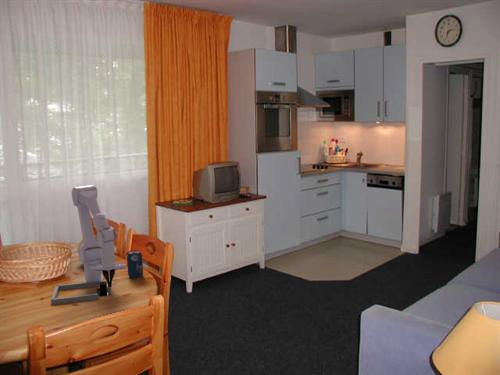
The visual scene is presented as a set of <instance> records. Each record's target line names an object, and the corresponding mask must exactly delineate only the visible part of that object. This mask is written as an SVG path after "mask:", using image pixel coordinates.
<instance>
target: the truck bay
mask: <svg viewBox="0 0 500 375" xmlns="http://www.w3.org/2000/svg"><path fill="white" fill-rule="evenodd" d="M99 284H100V281H92V282H84V281H82V282H75V283H73V282H72V283H65V284H64V283H63V284H56V285H55V287H54V290H53V293H52V295H51V299H50V303H51V305H59V304H67V303H69V304H70V303H76V302H85V301H94V300H95V301H96V300H99V297H98V294H96V293H92V294H91V293H90V294H84V295H83V294H82V295H74V296H64V297H63V296H62V297H58V295H59V292H60V291H63V290H72V289H74V290H75V289H83V288H92V287H93V288H94V287H100V286H99Z"/></svg>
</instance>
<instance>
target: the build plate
mask: <svg viewBox="0 0 500 375" xmlns="http://www.w3.org/2000/svg"><path fill="white" fill-rule="evenodd" d="M111 292H112V287H108V284H107V281H106V280H105V281H103V280H102V282H100V284H99V286H98V288H96V293H95V294H98V298H100V297H107V296H111V295H112V293H111Z"/></svg>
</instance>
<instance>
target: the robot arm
mask: <svg viewBox="0 0 500 375" xmlns="http://www.w3.org/2000/svg"><path fill="white" fill-rule="evenodd" d="M71 198H72V199H71V200H72V204H73V206H74V207H77V213H78V216H79V223H80V229H81V233H82V240H84V242H83V244H82V245H81V246H80V247H79V246H78V247H79V254H78V258H79V262H80V263H81V264H83V269H84V271H83V272H84V279H83V282H92V281H100V282H103V278H104V279H105V281H107V287H111V288H112V286H113V285H112V284H113V283H112V282H113V279H114V276H115V274H116V271H117V270H118V271H119V270H127V263H116V257H115V252H116V251H115V241H116V239H117V233H116V229H115V228H114V227H113V226H112V225H110V224H109V222H108V220H107V219H108V218H107V217H106V215H105V214H103V213H102V211H101V209H100V205H99V202H98V200H97V199H98V188H97V186H95V184H90V185H84V186H74V187H73V188H72V190H71ZM91 215H92V217H91ZM93 225H94V227H93ZM94 229H95V230H96V232H97V234H96V235H97V239H98V242H97V241H95V237H94V235H95V233H94ZM89 247H94V248H90V249H86V248H89Z"/></svg>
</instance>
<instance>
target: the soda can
mask: <svg viewBox="0 0 500 375" xmlns="http://www.w3.org/2000/svg"><path fill="white" fill-rule="evenodd" d="M126 262H127V263H126V267H127V276H128V277H129V278H130V279H133V280H134V279H140V278H142V277H143V274H144V267H143V266H144V264H143V254H142V252H141V251H140V250H137V249H135V250H129V251H128V252H127V255H126Z"/></svg>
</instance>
